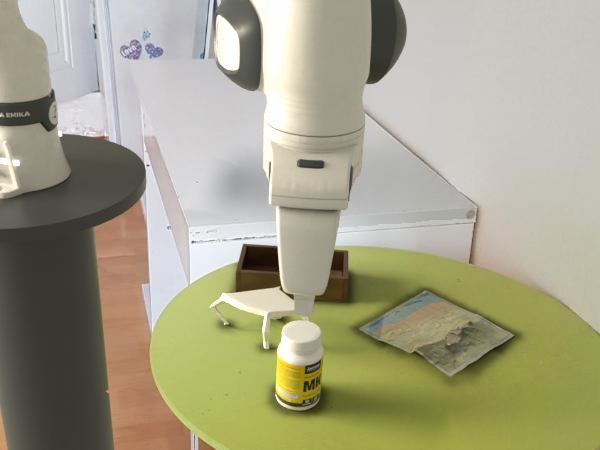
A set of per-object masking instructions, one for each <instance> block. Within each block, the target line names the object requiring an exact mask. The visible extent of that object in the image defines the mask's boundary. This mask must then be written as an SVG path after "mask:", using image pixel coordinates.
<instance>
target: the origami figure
mask: <svg viewBox="0 0 600 450" xmlns="http://www.w3.org/2000/svg"><path fill="white" fill-rule="evenodd" d="M279 289H280V287H275V288H269V289H261V290H253V291H244V292H236V291H235V292H222V294H221V295H220V297H219V298H218V299H217V300H215V301H214V302H213V303H211V304H210V305H209V309H210V310H211V311H212V312H213V313H214V314H216V316H217V317H218V318H219V319H220V321H222V323H223V325H224V326H229V324H230V323H229V322H228V321H227V319H226V318H225V316H224V315H223V314H222V313H221V312H220V311H219V309H218V308H217V307H220V306H221V305H223V304H226V303H227V304H229V305H231V306H233V307H235V308H237V309H239V310H241V311H244V312H247V313H249V314H255V315H258V316H262V317H263V323H262V341H263V349H265V350H269V349H270V342H269V341H270V328H271V320H281V319H282V318H283V317H292V316H298V315H297V314H295V312H294V299H291V298H290V297H288V296H287V295H286V294H284V293H283V292H282V291H281V290H279ZM300 317H301V320H303V321H309V322H310V319H309V316H304V315H300Z"/></svg>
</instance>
